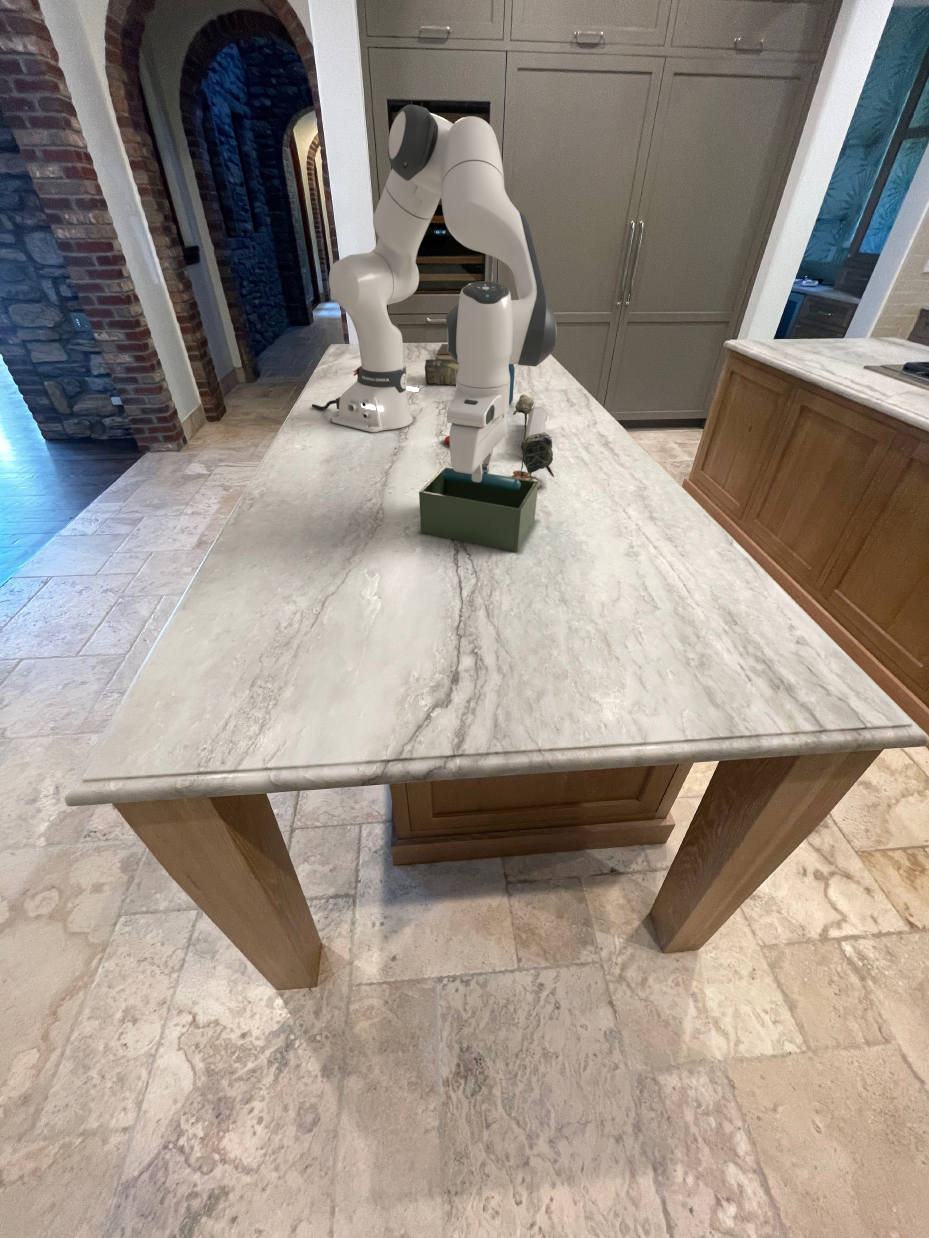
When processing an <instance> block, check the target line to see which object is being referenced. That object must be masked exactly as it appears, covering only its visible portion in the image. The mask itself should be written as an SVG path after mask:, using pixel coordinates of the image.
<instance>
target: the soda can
mask: <svg viewBox="0 0 929 1238" xmlns="http://www.w3.org/2000/svg"><path fill="white" fill-rule="evenodd" d="M515 369H516V368H515V364H509V373H510V395H509V406H511V404H512V402H513V401H514V387H515V371H516V370H515Z"/></svg>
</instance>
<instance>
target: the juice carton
mask: <svg viewBox="0 0 929 1238" xmlns="http://www.w3.org/2000/svg"><path fill="white" fill-rule="evenodd" d="M458 368H459V362H456V361H455V360H437V359H434V358H433V359H429V358H428V359H425V364H424V372H425V374H424V375H425V382H426V384H427V385H428V384H433V383H435V384H437V385H444V386H445V385H447V386H456V376H457V372H458Z"/></svg>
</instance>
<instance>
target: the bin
mask: <svg viewBox="0 0 929 1238" xmlns="http://www.w3.org/2000/svg"><path fill="white" fill-rule="evenodd" d="M444 468H452V466H447V465H444V466H443V467H442V468H441V469H440V470H439V471H438V472H437V473H436V474H435V475H434V476H433V477H432V478H431V479H430V480H429V481H428V482H427V483H426V484H425V485H424V486H423V487H422V488H421V489H420V490H419V491H418V500H419V501H418V502H419V519H420V520H419V522H420V533H421V534H426V535H430V536H434V537H435V536H436V537H439V538H446V539H451V540H455V541H460V542H465V543H468V544H469V543H470V544H475V545H480V546H483V547H484V546H485V547H489V548H490V547H491V548H495V549H499V550H505V551H508V552H514V553H518V551H519V550H520V548H521V546H523V545H522V544H523V543H524V541H525V539H526V537H527V536H528V533H529V532H530V530H531V528H532V527H533V525H534V523H535V518H536V509H537V499H538V489H539V488H538V481H532V480H526V479H520V478H515V479H518V480H519V481H520V483H521V487H520V489H519V490H517V491H510V490H505V489H499V488H493V487H487V486H481V485H475V484H469V483H464V482H458V481H452V480H446V479H444V478H443V476H442V471H443V469H444ZM487 474H491V475H497V476H503V477H509V476H507V475H501V474H495V473H490V472H488V473H487ZM509 478H514V477H509Z"/></svg>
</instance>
